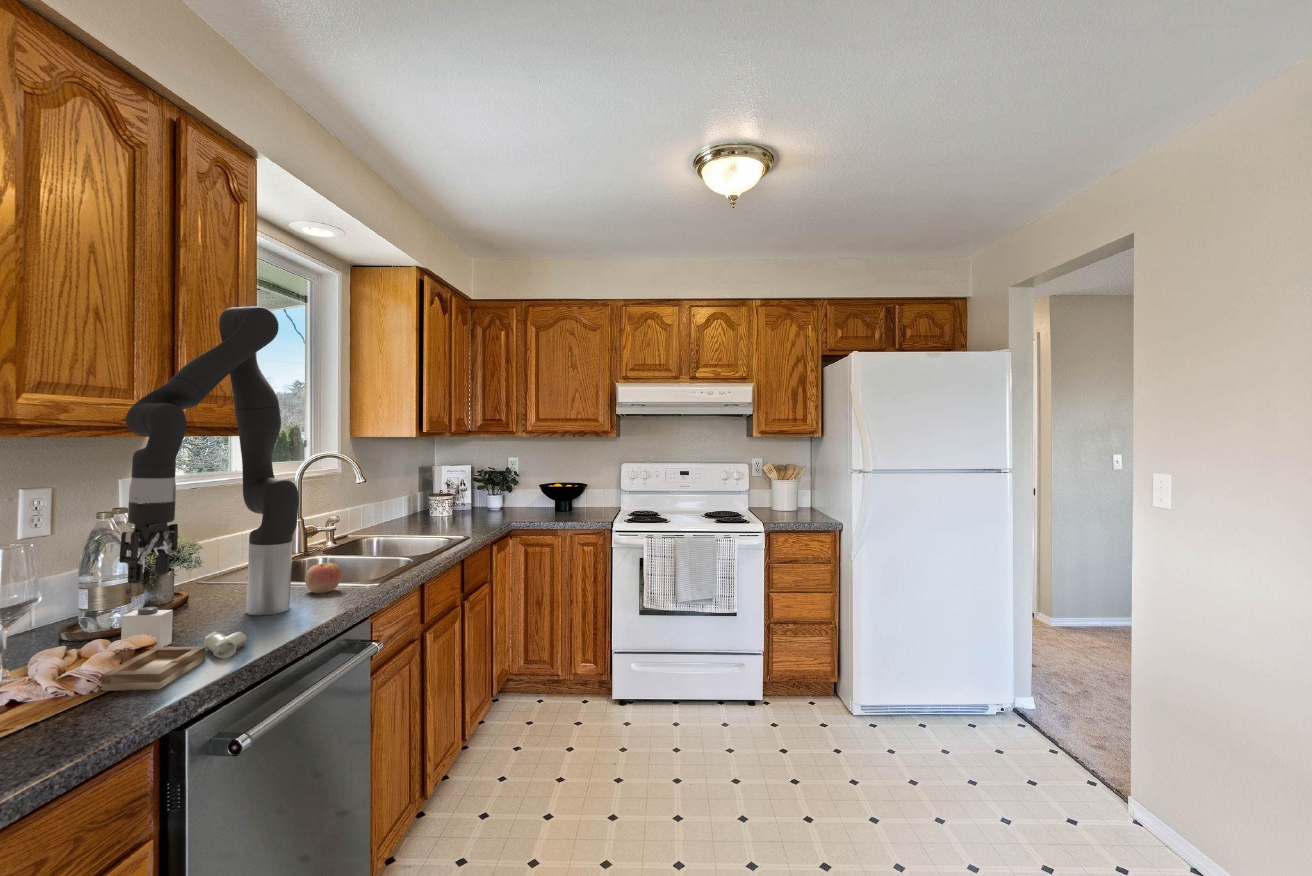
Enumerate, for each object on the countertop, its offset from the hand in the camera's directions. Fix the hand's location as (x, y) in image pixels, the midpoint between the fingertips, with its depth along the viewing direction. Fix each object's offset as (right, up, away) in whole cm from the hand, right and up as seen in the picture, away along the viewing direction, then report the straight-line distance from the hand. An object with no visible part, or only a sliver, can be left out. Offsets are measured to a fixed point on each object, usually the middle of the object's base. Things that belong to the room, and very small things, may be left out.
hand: (148, 578), depth 127 cm
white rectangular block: (0, -14, 0) cm, 14 cm away
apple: (+10, -15, +47) cm, 51 cm away
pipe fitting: (+17, -15, -1) cm, 23 cm away
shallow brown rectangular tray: (+13, -15, -14) cm, 24 cm away
